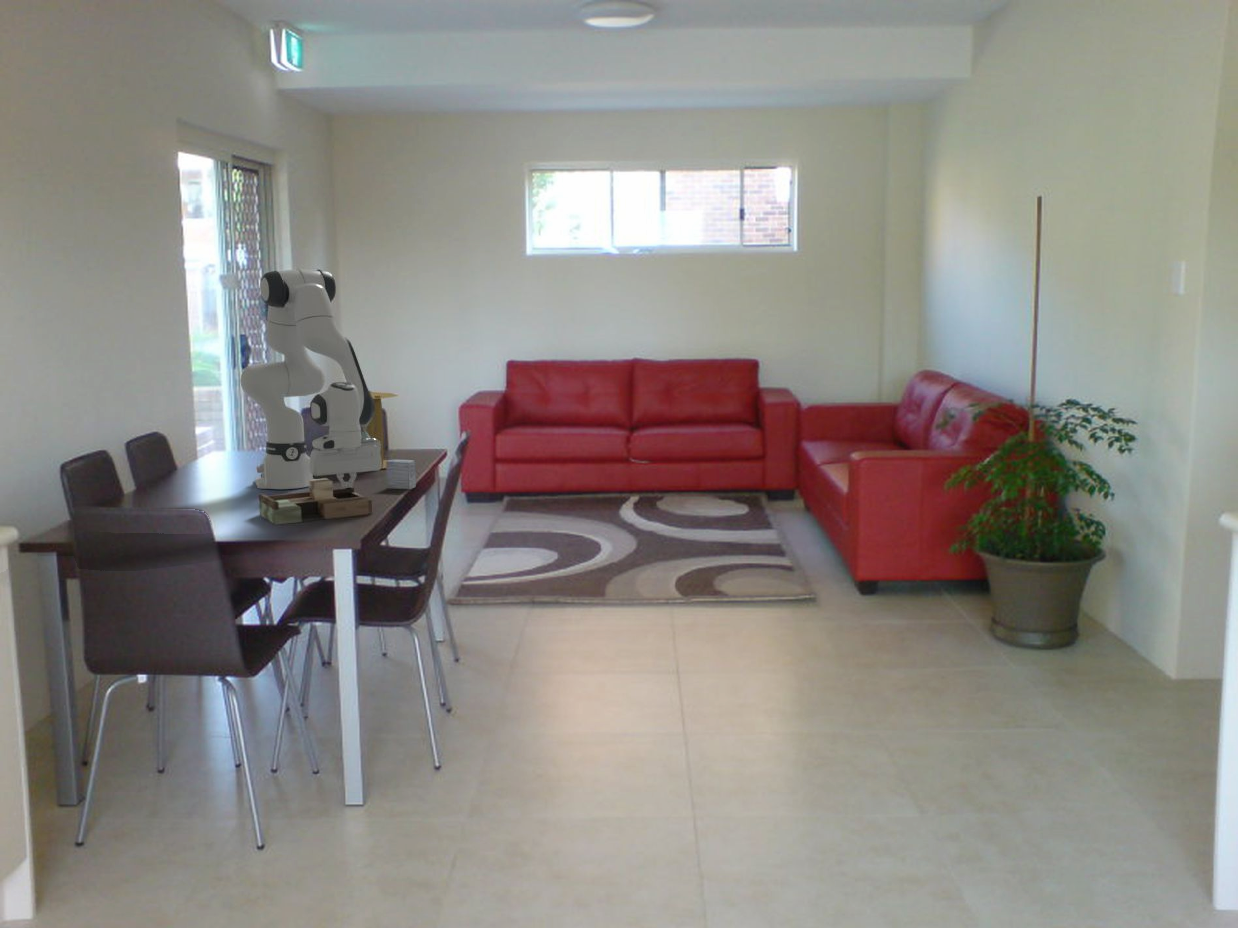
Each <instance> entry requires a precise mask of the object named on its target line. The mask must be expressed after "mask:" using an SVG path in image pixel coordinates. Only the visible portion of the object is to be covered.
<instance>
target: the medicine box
mask: <svg viewBox="0 0 1238 928" xmlns="http://www.w3.org/2000/svg"><path fill="white" fill-rule="evenodd" d="M388 460H389V461H387V462H386V468H385V469H386V489H393V490H413V489H414V488H416V487H417V485H416V484H417V482H416V461H415V460H412V459H388Z"/></svg>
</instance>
